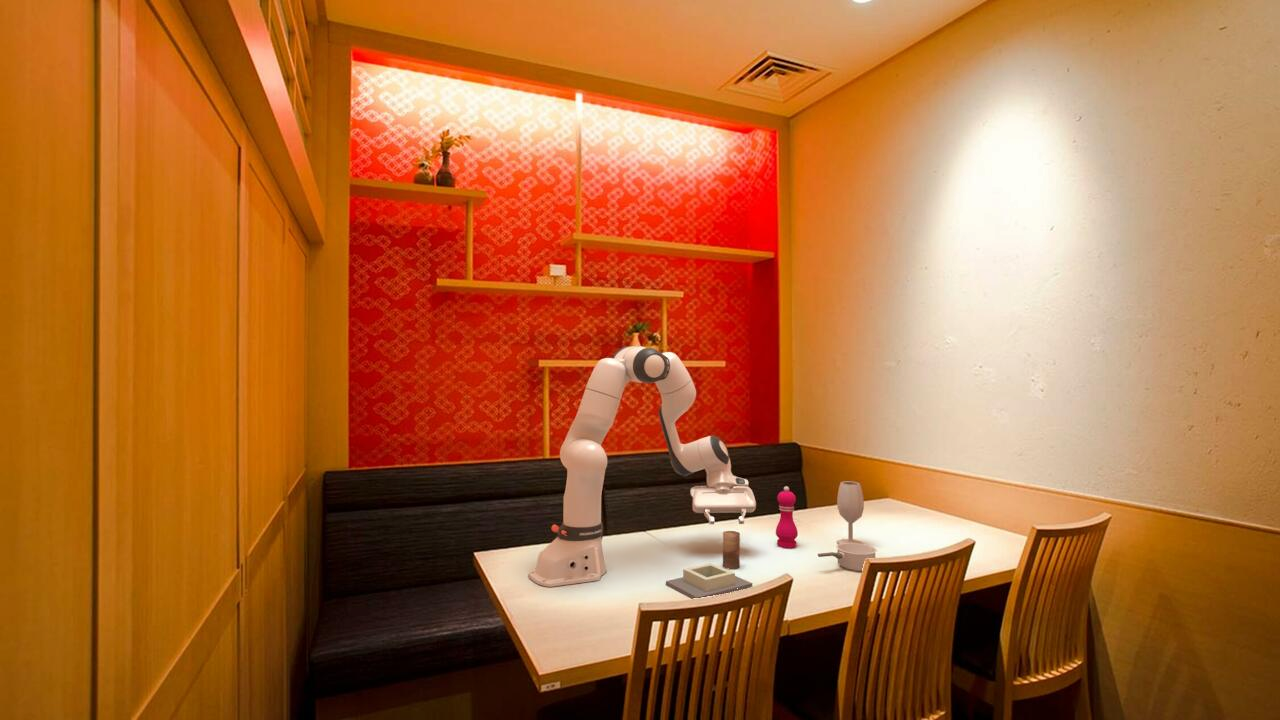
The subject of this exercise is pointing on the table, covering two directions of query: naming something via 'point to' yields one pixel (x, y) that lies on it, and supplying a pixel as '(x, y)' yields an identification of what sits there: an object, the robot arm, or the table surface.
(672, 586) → the socket block
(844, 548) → the saucepan
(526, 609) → the table surface
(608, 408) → the robot arm
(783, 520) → the pepper mill
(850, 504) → the wineglass
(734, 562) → the walnut peg
